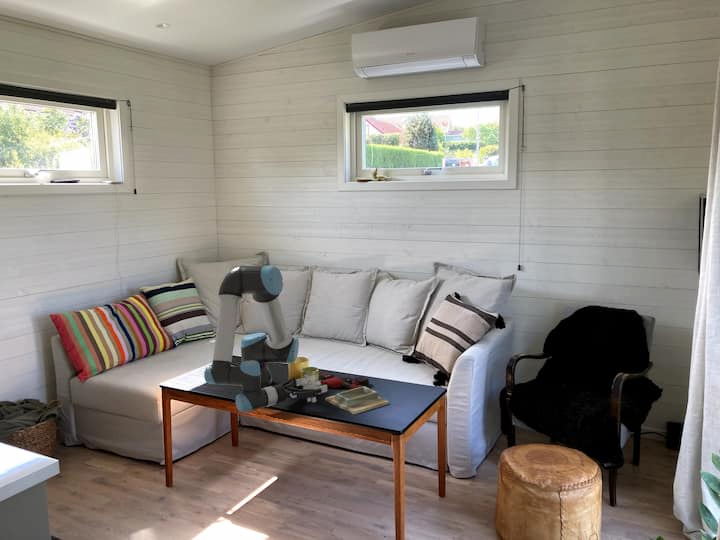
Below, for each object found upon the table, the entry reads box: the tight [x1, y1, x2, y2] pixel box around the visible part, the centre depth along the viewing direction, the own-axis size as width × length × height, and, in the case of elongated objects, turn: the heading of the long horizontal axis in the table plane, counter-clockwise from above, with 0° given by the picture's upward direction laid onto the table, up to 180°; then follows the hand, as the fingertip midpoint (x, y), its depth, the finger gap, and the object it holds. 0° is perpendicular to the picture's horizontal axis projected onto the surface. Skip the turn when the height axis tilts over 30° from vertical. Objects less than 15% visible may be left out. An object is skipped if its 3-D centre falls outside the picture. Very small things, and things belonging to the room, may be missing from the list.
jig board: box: [325, 386, 389, 415], centre depth 248 cm, size 20×18×4 cm
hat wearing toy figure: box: [301, 374, 322, 403], centre depth 249 cm, size 9×4×12 cm, turn 69°
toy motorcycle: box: [318, 372, 370, 390], centre depth 268 cm, size 25×5×16 cm
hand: (317, 383), depth 251 cm, fingers open, 13 cm apart
